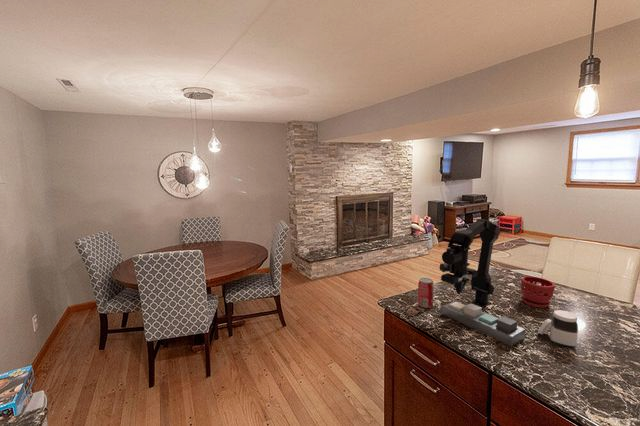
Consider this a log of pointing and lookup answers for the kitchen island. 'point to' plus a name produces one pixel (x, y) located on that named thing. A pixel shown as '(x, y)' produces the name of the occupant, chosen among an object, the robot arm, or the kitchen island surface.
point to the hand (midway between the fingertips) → (458, 293)
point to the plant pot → (536, 291)
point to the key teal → (488, 319)
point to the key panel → (484, 326)
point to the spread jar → (562, 329)
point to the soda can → (425, 292)
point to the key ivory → (457, 306)
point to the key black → (507, 324)
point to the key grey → (473, 310)
